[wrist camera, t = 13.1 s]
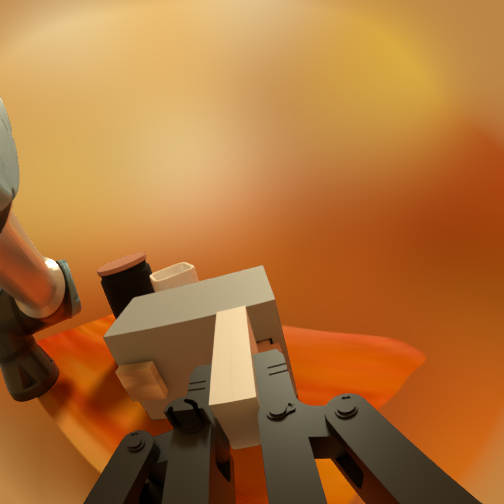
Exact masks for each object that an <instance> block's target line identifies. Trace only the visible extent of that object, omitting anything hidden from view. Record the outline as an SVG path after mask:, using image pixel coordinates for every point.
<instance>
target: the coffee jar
mask: <svg viewBox="0 0 504 504" xmlns="http://www.w3.org/2000/svg"><path fill="white" fill-rule="evenodd" d="M145 259H146V254H145V253H143V252H141V253H135V254H131V255H128V256H125V257H122V258H119V259H117V260H114V261H112V262H110V263H108V264H106V265H104V266H102V267H101V268H99V269H98V270H97V273H98V275H99V276H100V277H101V278H102V281H101V284H102V287H103V289H104V292H105V295H106V297H107V300H108V302H109V304H110V306H111V309H112V311H113V314H114V316H115V318H116V320H117V318H118V317H119V316H120V314H121V313H122V312H123V311H124V309H125V308H126V307H127V306H128V304H129V303H130V302H131V301H132V299H133V298H135V297H139V296H143V295H147V294H151V293H155V291H154V288H153V286H152V283H151V280H150V275H151V274H152V272H151V268H150V266H149V264H148V263H146V261H145Z"/></svg>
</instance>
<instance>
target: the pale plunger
mask: <svg viewBox="0 0 504 504" xmlns="http://www.w3.org/2000/svg"><path fill="white" fill-rule="evenodd" d="M115 373H116V375H117V377H118V378H119V380H120V382H121V383H122V385H123V387H124V388H125V390H126V391H127V393H128V395H129V396H130V398H131V399H132V401H133V402H134V401H147V400H158V399H166V398H167V394H168V389H167V387H166V385H165V383H164V382H163V380H162V378H161V376H160V374H159V372H158V370H157V368H156V367H155V365H154V363H153V361H149V362H142V363H135V364H127V365H119V367H118V369H117V371H116V372H115Z"/></svg>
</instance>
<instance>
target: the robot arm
mask: <svg viewBox="0 0 504 504" xmlns="http://www.w3.org/2000/svg"><path fill="white" fill-rule="evenodd" d="M11 132H12V129H11V125H10V122H9V118H8V115H7V112H6V109H5V107H4V104H3V101H2V99H1V97H0V367H1V371H2V374H3V377H4V380H5V383H6V386H7V389H8V391H9V393H10V394H11V396H12V397H13V399H14V400H16V401H20V402H23V401H28V400H31V399H34V398H36V397H38V396H39V395H41V394H43V393H44V392H45V391H46V390H48V389H49V388H50V387H51V386H52V385H53V383H54V382H55V381H56V379H57V377H58V375H59V369H58V367H57V365H56V364H55V362H54V360H53V359H52V358H50V357H49V355H48V354H47V353H46V352H45V351H44V350H43V349H42V348H41V347H40V346H39V345H38V344H37V343H36V341H35V339H34V337H33V335H32V334H34V333H36V332H39V331H41V330H43V329H45V328H48V327H50V326H52V325H55V324H57V323H59V322H62V321H64V320H66V319H69V318H70V319H71V318H72V317H73V316H75V315H76V314H79V313H80V312H81V309H82V306H81V302H80V299H79V296H78V293H77V290H76V287H75V284H74V281H73V278H72V275H71V272H70V269H69V266H68V264H67V262H66V261H65V260H60V261H59V260H58V261H56V262H54V261H52V260H51V259H49V258H46V257H42V256H41V254H40V253H39V252H38V250H37V249H36V247H35V246H34V244H33V243H32V242H31V240H30V238H29V237H28V235H27V234H26V232H25V231H24V229H23V228H22V226H21V224H20V223H19V221H18V219H17V218H16V216H15V214H14V213H13V211H12V204H13V199H14V198H15V196H16V194H17V192H18V187H19V165H18V157H17V151H16V146H15V142H14V139H13V137H12V135H11ZM164 414H165V415H166V417H167V418H168V420H169V421H170V423H171V424H172V426H173V427H174V428H173V430H171V431H169V432H166V433H163V434H160V435H157V436H154V437H152V435H151V434H150V433H149V432H146V431H142V430H137V431H134V432H131V433H129V434H128V435H126V436H125V437H124V438H123V439H122V441H121V442H120V444H119V446H118V447H117V449H116V451H115V452H114V454H113V455H112V457H111V459H110V460H109V462H108V464H107V465H106V467H105V469H104V470H103V472H102V474H101V475H100V477H99V479H98V480H97V482H96V483H95V485H94V487H93V488H92V490H91V492H90V493H89V495H88V497H87V498H86V500H85V502H84V504H236V501H235V482H234V461H233V458H232V456H231V454H230V452H229V443H230V445H231V447H232V449H240V448H247V447H253V446H258V445H261V446H262V454H263V462H264V470H265V478H266V485H267V493H268V500H269V504H327V501H326V497H325V494H324V490H323V487H322V484H321V480H320V477H319V473H318V470H317V466H316V463H315V459H327V458H331V460H332V461H333V462H334V464H335V465H336V466H337V468H338V469H339V470H340V472H341V473H342V474H343V476H344V477H345V478H346V479H347V481H348V482H349V483H350V485H351V486H352V487H353V488H354V490H355V491H356V492H357V493H358V495H359V496H360V497H361V498H362V500H363V501H364V502H365V503H366V504H482V503H480V502H479V501H478V500H477V499H476V498H474V497H473V496H472V495H471V494H470V493H469V492H467V491H466V490H465V489H464V488H463V487H461V486H460V485H459V484H458V483H457V482H456V481H454V480H453V479H452V478H451V477H450V476H449V475H447V474H446V473H445V472H444V471H443V470H442V469H440V468H439V467H438V466H437V465H436V464H435V463H434V462H433V461H432V460H430V459H429V458H428V457H427V456H426V455H425V454H423V452H421V451H420V450H419V449H418V448H417V447H416V446H415V445H414V444H413V443H411V442H410V441H409V440H408V439H407V438H406V437H405V436H404V435H403V434H402V433H400V432H399V431H398V430H397V429H396V428H395V427H394V426H393V425H392V424H391V423H390V422H388V421H387V420H386V419H385V418H384V417H383V416H382V415H381V414H380V413H379V412H378V411H377V410H376V409H375V408H374V407H373V406H371V405H370V404H369V403H368V402H367V401H366V400H365V399H364V398H362V397H361V396H359V395H356V394H351V393H350V394H342V395H339V396H336V397H334V398H333V399H332V400H330V401H329V402H328V404H327V405H325V406H310V405H306V404H304V403H302V402H300V401H299V400H298V399H297V398H296V396H295V393H294V389H293V386H292V383H291V379H290V376H289V372H288V369H287V366H286V362H285V359H284V355H283V354H282V353H281V352H280V351H278V350H277V349H274V350H270V351H266V352H262V353H258V349H257V345H256V342H255V338H254V335H253V331H252V328H251V324H250V321H249V317H248V313H247V310H246V306H241V307H237V308H232V309H228V310H224V311H219V312H217V314H216V324H215V335H214V346H213V358H212V364H208V365H202V366H197V367H195V369H194V370H193V372H192V373H191V374H190V379H189V385H188V392H187V396H184V397H180V398H177V399H175V400H173V401H171V402H170V403H169V404H168V405H167V406H166V408H165V410H164Z"/></svg>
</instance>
